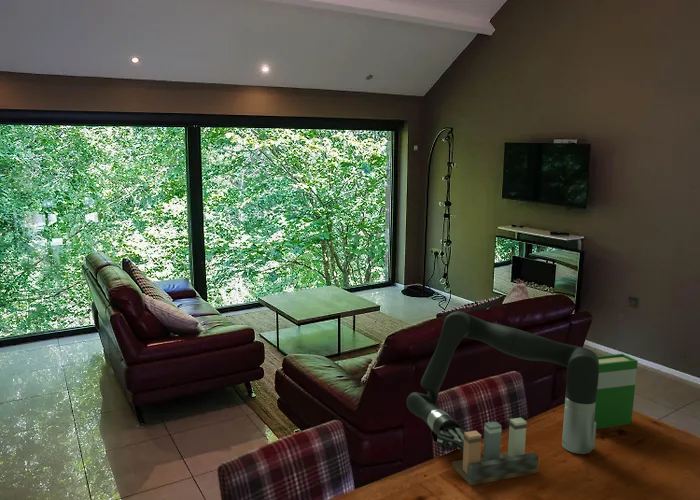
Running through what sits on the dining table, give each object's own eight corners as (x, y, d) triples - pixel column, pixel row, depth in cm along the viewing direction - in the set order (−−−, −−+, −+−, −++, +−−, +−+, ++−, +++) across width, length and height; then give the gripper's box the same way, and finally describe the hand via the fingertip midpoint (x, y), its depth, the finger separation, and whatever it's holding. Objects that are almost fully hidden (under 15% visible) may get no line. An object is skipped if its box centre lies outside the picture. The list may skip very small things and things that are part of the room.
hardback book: (590, 429, 197) (595, 365, 193) (576, 420, 204) (581, 357, 200) (631, 423, 201) (637, 360, 197) (616, 414, 208) (622, 353, 204)
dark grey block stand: (515, 454, 180) (517, 438, 179) (537, 472, 169) (538, 456, 168) (452, 465, 173) (452, 449, 172) (470, 485, 162) (471, 468, 161)
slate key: (494, 457, 175) (496, 421, 173) (499, 462, 172) (501, 425, 170) (482, 459, 173) (484, 423, 171) (488, 464, 170) (490, 427, 168)
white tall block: (518, 452, 177) (520, 417, 175) (524, 457, 174) (526, 421, 172) (507, 454, 176) (509, 419, 174) (513, 459, 173) (515, 423, 171)
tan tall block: (474, 467, 169) (476, 430, 167) (479, 472, 166) (481, 435, 164) (462, 469, 167) (464, 432, 165) (467, 475, 165) (469, 437, 163)
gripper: (424, 416, 181) (450, 442, 164) (461, 411, 185) (489, 436, 168) (424, 438, 182) (449, 466, 166) (460, 432, 186) (488, 459, 170)
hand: (469, 451), depth 167 cm, fingers closed
